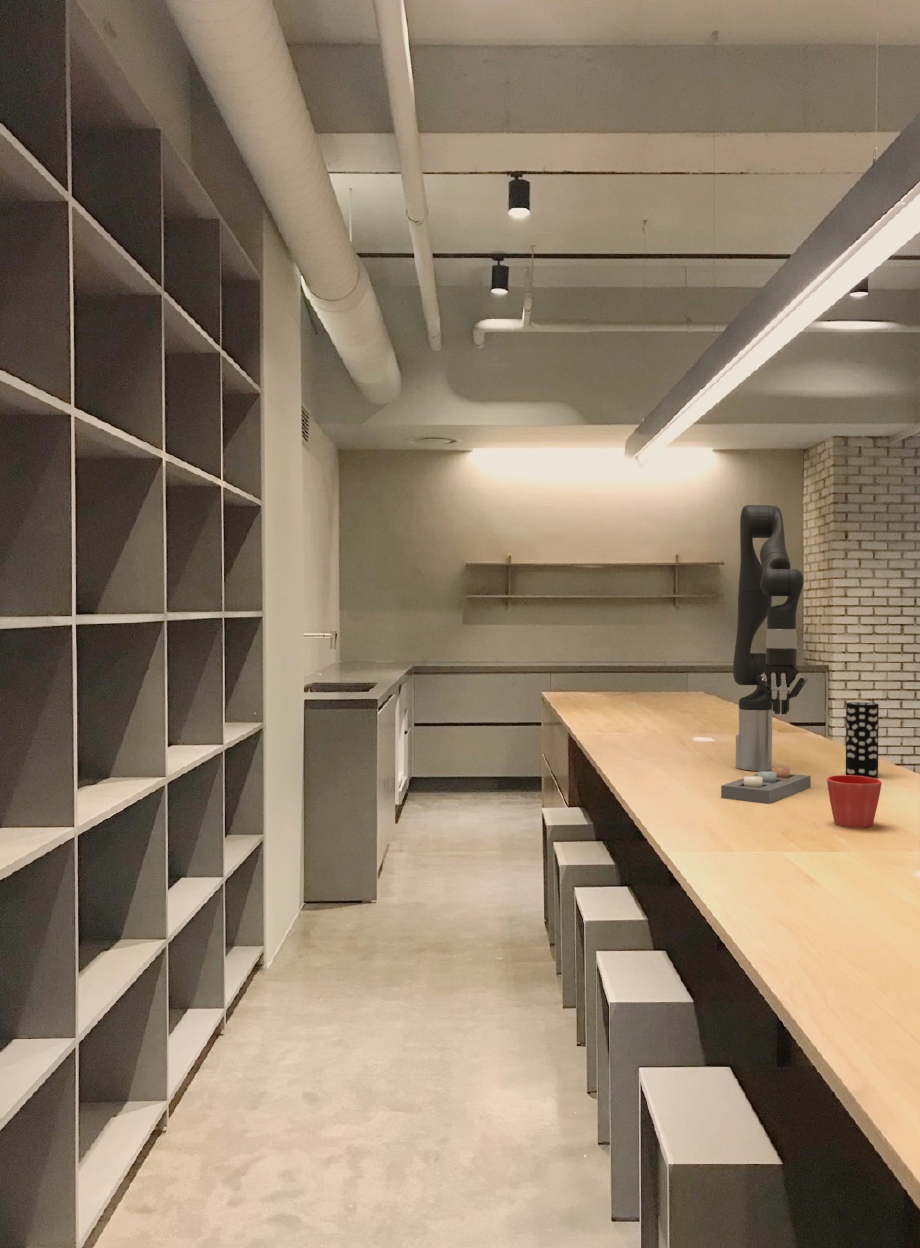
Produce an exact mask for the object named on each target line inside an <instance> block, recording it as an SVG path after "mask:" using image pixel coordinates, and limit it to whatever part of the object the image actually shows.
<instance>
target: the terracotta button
mask: <svg viewBox="0 0 920 1248" xmlns="http://www.w3.org/2000/svg"><path fill="white" fill-rule="evenodd" d="M771 772H776V777H779V778H790V774H791V773H790V767H785V766H772V769H771Z"/></svg>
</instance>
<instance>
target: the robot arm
mask: <svg viewBox="0 0 920 1248" xmlns="http://www.w3.org/2000/svg"><path fill="white" fill-rule="evenodd" d="M739 519H740V522H739V523H740V524H739V535H740V536H739V537H740V541H739V542H740V543H739V545H740V546H739V547H740V549H739V550H740V565H739V566H740V567H739V578H738V579H739V581H738V593H737V627H736V628H737V629H736V639H735V646H734V654H733V664H732V665H733V667H732V673H733V679H734V681H735V683H736V684H737V685H738V686H756V689H754V691H753V692H752V693H750V694H748V695H746V696H743V697H740V698H739V700H738V734H737V735H735V769H739V770H744V771H753V772H755V771H756V772H759V771H772V767H773V712H774V714H775V715H780V714H781V715H787V714H788V712H789V711H790V700H791V699H793V698H796V697H797V696H798V695H799V694H800V692H801V691H802V690H803V688H804V686H805V684H806V683H807V682H808V678H807V677H806V676H805V677H804V676H802V675H801V674H799V670H798V668H797V663H798V661H797V658H798V654H797V653H798V651H797V649H798V640H797V639H798V638H797V637H798V636H797V629H796V628H797V620H796V619H797V610H798V604H799V600H800V596H801V595H802V594H801V593H802V589H803V587H804V582H805V581H804V576H803V573H802V572H801V571H800V570H799V569H796V568H791V561H790V558H789V555H788V551H787V549H786V541H785V527H784V519H783V514H782V511H781V509H780V508H779V507H778V506H777V505H769V504H768V505H767V504H763V505H761V504H747V505H744V506H743V507H742V509H741V513H740V518H739ZM754 539H767V540H766V541H765V542H764V543H763V545H762V546H761V547H760V551H759V558H760V560H759V558H758V556H757V553H756V551H755V547H754V542H753V541H754ZM773 597H787V598H786V601H785V602H783V603H781V604H778V605H777V604H776V605H772V603H773V601H772V600H773ZM765 620H766V621H767V622H766V624H767V625H766V627H767V629H766V636H765V643H766V644H765V652H751V648H752V644H753V640H754V637H755V635H756V633H757V632H758V630H759V628H760V627H761V625H762V624H763V623H764V621H765ZM794 681H795V685H794V686H793V687H792V683H794ZM781 693H782V694H781ZM780 696H781V698H782V699H780Z"/></svg>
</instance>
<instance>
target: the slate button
mask: <svg viewBox="0 0 920 1248" xmlns="http://www.w3.org/2000/svg"><path fill="white" fill-rule="evenodd" d="M757 774H758V776H760V777H762V782H768V783H776V772H772V770H767V771H757Z"/></svg>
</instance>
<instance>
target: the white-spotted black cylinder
mask: <svg viewBox="0 0 920 1248" xmlns="http://www.w3.org/2000/svg"><path fill="white" fill-rule="evenodd" d="M879 708H880V705H879V703H874V702H864V701H863V702H859V701H857V702H856V701H854V702H853V701H851V702H846V703H845V775H854V776H863V777H870V778H875V779H878V778H879V732H880V731H879V729H880V728H879V723H880V722H879V721H880V720H879V717H880V716H879V713H880V711H879V710H880V709H879Z"/></svg>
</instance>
